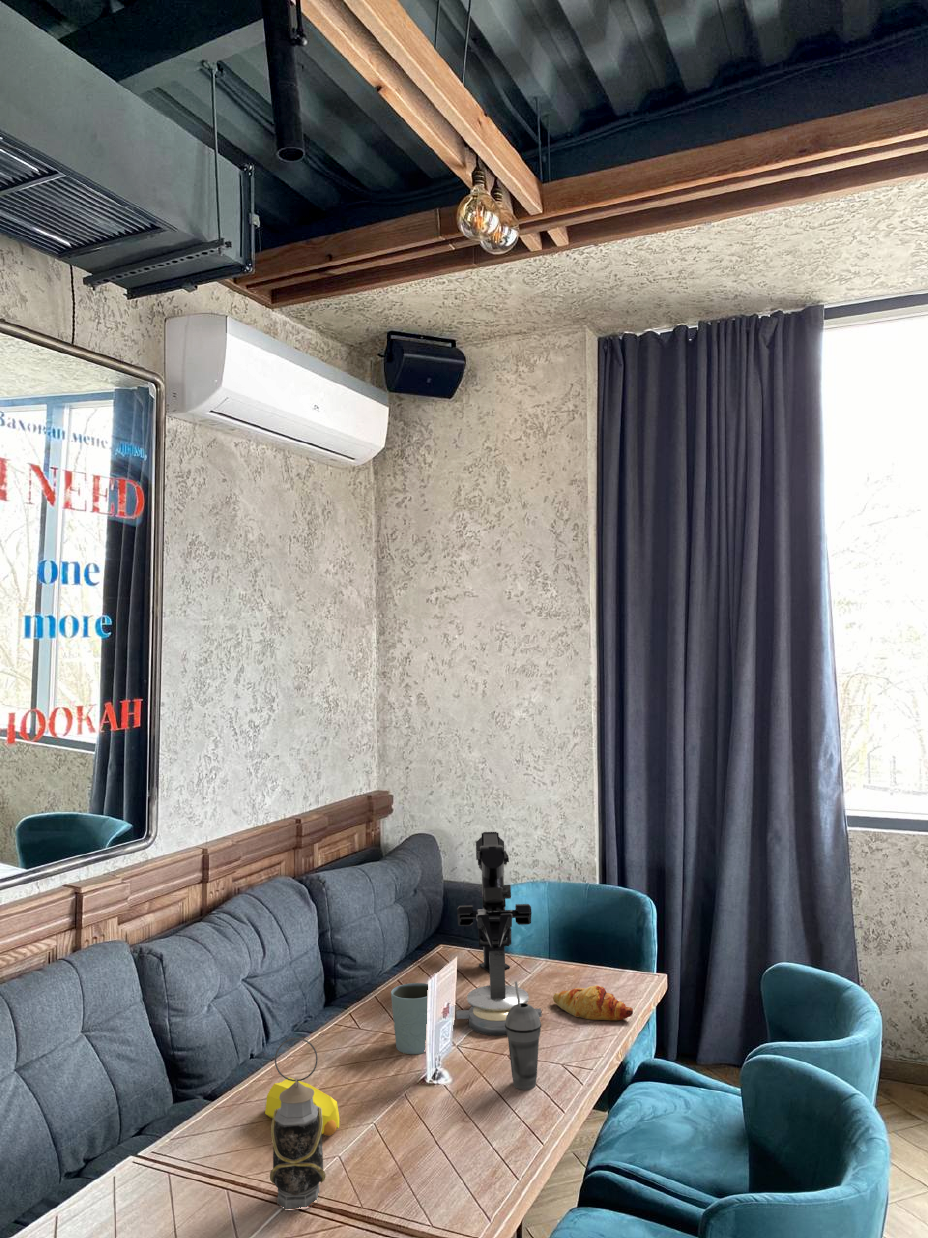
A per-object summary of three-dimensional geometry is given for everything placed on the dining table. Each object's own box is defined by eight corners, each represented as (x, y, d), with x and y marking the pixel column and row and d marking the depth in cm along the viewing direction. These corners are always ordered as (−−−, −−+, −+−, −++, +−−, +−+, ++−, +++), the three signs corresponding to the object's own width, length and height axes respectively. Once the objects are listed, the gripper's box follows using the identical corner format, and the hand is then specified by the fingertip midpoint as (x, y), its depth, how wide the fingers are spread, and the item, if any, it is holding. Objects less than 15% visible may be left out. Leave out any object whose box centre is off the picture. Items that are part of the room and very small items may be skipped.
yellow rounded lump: (288, 1102, 178) (255, 1117, 173) (288, 1066, 179) (255, 1080, 173) (350, 1132, 166) (316, 1149, 161) (349, 1094, 167) (316, 1110, 161)
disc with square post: (467, 989, 227) (466, 944, 227) (526, 987, 227) (525, 943, 227) (467, 1011, 212) (466, 964, 213) (530, 1010, 212) (529, 962, 213)
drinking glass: (417, 1060, 195) (416, 1002, 196) (382, 1048, 201) (380, 992, 202) (447, 1043, 203) (446, 988, 204) (412, 1033, 209) (411, 979, 210)
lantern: (329, 1183, 150) (326, 1027, 151) (323, 1213, 142) (320, 1047, 143) (275, 1186, 149) (272, 1029, 150) (266, 1216, 141) (263, 1050, 142)
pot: (457, 1012, 220) (456, 1000, 220) (539, 1010, 220) (538, 998, 220) (456, 1037, 206) (456, 1023, 206) (544, 1034, 206) (543, 1021, 206)
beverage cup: (540, 1094, 178) (537, 989, 179) (503, 1091, 180) (500, 987, 181) (545, 1077, 185) (542, 976, 186) (509, 1075, 187) (506, 974, 188)
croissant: (548, 1023, 222) (538, 998, 219) (565, 991, 229) (556, 967, 227) (629, 1040, 210) (620, 1014, 207) (644, 1006, 217) (636, 980, 214)
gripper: (456, 874, 234) (457, 931, 223) (529, 872, 234) (534, 929, 223) (457, 897, 242) (458, 953, 231) (528, 895, 242) (532, 951, 230)
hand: (495, 946), depth 228 cm, fingers closed
